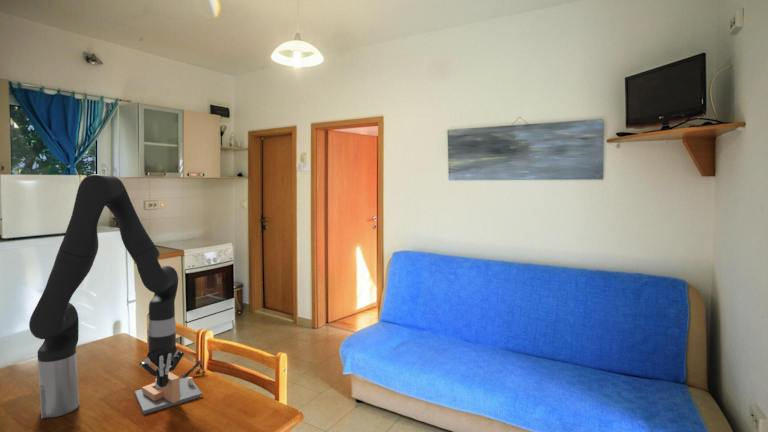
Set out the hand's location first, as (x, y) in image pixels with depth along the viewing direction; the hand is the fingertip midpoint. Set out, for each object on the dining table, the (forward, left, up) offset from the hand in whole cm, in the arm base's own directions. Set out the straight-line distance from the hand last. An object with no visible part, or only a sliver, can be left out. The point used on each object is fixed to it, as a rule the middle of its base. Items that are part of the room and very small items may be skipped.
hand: (162, 386), depth 131 cm
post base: (+3, +7, -7) cm, 11 cm away
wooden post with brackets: (+13, +18, -8) cm, 24 cm away
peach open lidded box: (+2, +5, -6) cm, 8 cm away
